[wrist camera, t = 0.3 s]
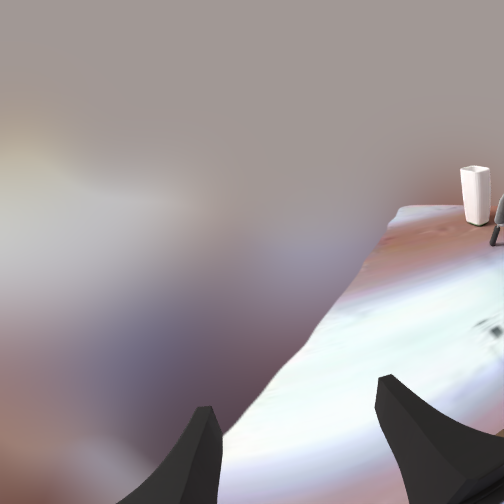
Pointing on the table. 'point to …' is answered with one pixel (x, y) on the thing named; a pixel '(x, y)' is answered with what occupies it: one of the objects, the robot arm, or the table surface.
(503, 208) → the potted plant
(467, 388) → the table surface
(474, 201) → the cup
